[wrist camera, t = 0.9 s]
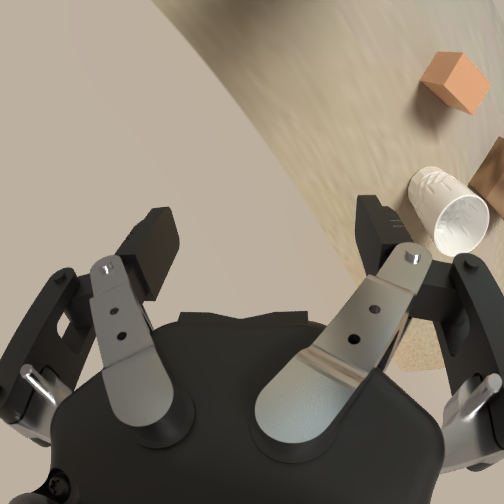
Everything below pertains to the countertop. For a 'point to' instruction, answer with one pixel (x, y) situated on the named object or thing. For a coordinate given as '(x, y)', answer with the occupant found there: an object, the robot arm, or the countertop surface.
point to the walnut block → (492, 178)
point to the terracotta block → (456, 81)
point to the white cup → (448, 211)
